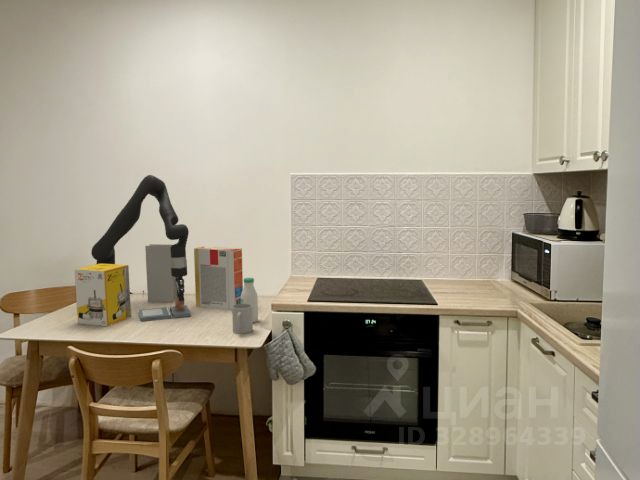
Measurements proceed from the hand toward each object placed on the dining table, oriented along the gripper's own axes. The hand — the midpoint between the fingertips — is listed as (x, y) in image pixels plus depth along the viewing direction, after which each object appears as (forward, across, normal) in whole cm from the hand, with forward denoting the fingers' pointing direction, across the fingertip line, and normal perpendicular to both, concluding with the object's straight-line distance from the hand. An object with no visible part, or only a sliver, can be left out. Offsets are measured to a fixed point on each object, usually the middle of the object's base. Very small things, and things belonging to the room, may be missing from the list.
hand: (180, 298), depth 250 cm
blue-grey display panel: (+7, 0, -12) cm, 14 cm away
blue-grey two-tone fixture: (+7, 0, 0) cm, 7 cm away
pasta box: (+8, -6, +20) cm, 22 cm away
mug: (+8, +41, +20) cm, 47 cm away
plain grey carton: (+7, -30, -6) cm, 31 cm away
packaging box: (+7, -1, -34) cm, 35 cm away
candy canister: (+8, +26, +28) cm, 39 cm away
